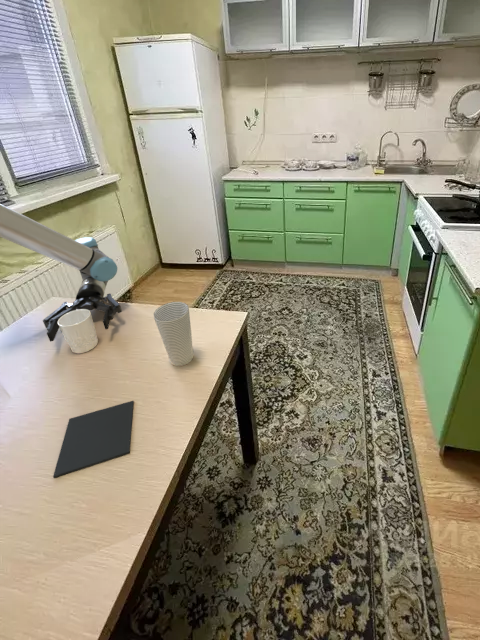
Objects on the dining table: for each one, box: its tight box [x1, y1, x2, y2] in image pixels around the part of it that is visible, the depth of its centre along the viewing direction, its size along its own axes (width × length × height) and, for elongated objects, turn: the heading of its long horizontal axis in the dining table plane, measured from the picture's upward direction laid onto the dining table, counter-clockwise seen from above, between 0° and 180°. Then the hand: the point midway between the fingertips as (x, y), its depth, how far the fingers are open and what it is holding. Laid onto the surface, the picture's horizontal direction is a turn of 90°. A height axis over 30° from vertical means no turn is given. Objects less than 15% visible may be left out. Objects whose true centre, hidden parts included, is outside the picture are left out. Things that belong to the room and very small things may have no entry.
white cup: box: [57, 309, 99, 354], centre depth 91 cm, size 8×8×10 cm
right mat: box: [52, 400, 135, 479], centre depth 67 cm, size 13×13×1 cm
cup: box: [153, 301, 194, 367], centre depth 84 cm, size 8×8×16 cm
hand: (78, 331), depth 90 cm, fingers open, 13 cm apart
